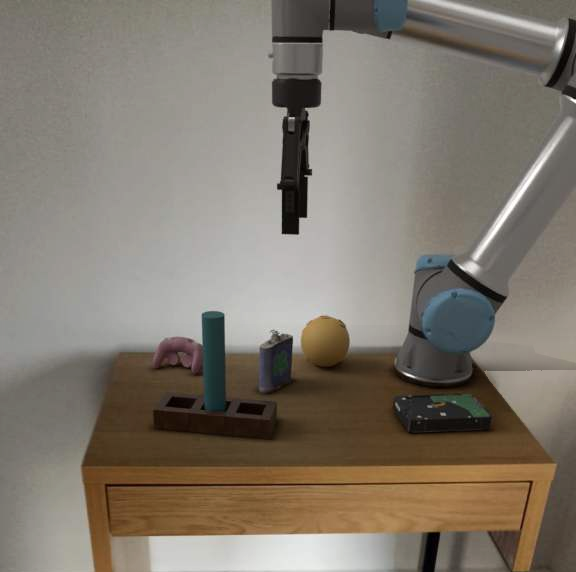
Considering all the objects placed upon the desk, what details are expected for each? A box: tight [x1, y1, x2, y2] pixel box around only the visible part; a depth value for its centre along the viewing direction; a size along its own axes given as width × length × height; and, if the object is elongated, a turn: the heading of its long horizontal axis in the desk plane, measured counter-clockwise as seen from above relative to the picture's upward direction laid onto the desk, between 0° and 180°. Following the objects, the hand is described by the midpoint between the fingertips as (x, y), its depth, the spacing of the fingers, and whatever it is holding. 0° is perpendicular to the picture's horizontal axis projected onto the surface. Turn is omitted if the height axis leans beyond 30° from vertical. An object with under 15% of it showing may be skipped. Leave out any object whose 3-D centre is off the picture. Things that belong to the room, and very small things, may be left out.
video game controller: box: [152, 336, 203, 375], centre depth 148 cm, size 10×5×7 cm, turn 72°
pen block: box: [152, 391, 278, 440], centre depth 127 cm, size 20×8×4 cm, turn 82°
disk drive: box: [392, 393, 493, 433], centre depth 131 cm, size 10×3×15 cm
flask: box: [258, 329, 294, 395], centre depth 140 cm, size 9×3×11 cm, turn 146°
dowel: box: [201, 310, 227, 412], centre depth 123 cm, size 4×4×19 cm
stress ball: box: [300, 315, 351, 368], centre depth 150 cm, size 10×10×10 cm
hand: (294, 225), depth 124 cm, fingers open, 13 cm apart
